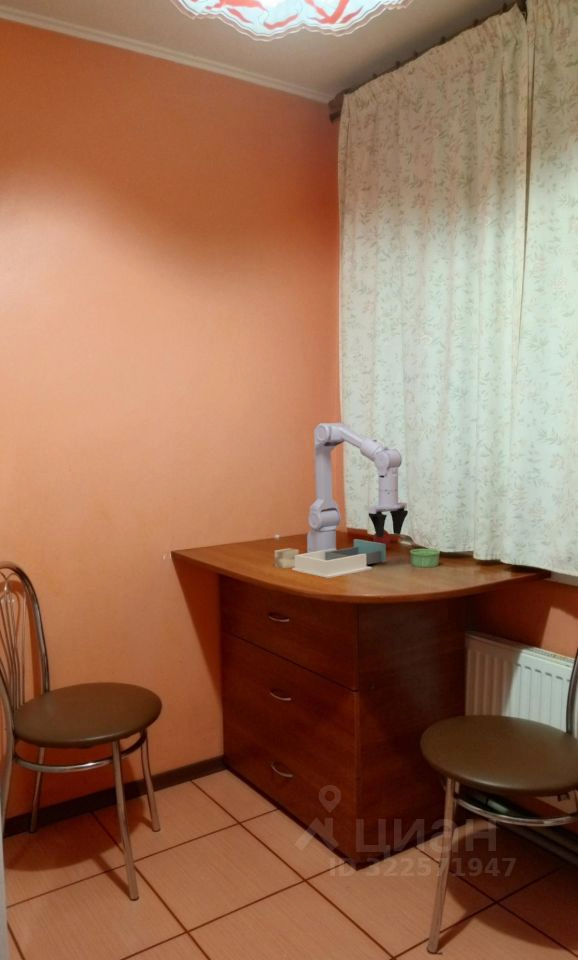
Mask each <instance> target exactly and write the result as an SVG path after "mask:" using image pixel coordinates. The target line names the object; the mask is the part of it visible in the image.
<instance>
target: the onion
mask: <svg viewBox="0 0 578 960" xmlns="http://www.w3.org/2000/svg"><path fill="white" fill-rule="evenodd" d="M372 539H373V542H376V543H382V544H386V548H387V547H388V546H389V545H390V543H391V535H390V533H389V532H388V531H387V530H386V529H384V535H383V537H377V536H376V532H375V533H374V535H373V538H372Z"/></svg>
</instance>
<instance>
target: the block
mask: <svg viewBox="0 0 578 960" xmlns="http://www.w3.org/2000/svg"><path fill="white" fill-rule="evenodd" d="M299 551H300V550H299V549H296V548H289V547H288V548H283V549H277V550H276V549H275V550H274V567H276V568H281V569H288V568H295V555H299V553H300V552H299Z"/></svg>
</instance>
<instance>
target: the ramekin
mask: <svg viewBox="0 0 578 960" xmlns="http://www.w3.org/2000/svg"><path fill="white" fill-rule="evenodd" d="M409 553H410V562H411V565H412V566H413V567H417V568H435V566H436V567H437V566H438V565H439V563H440V562H439V560H440V554H441V551H440V550H438V549H433V548H416V549H414V548H413V549H411V550H410V551H409Z"/></svg>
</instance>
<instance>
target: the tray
mask: <svg viewBox="0 0 578 960" xmlns="http://www.w3.org/2000/svg"><path fill="white" fill-rule="evenodd" d="M386 549H387V547H386V544H382V543H376V542H374V541H368V540H364V539H355V538H354V539H353V546H352V547H348V548H347V547H346V548H342V549H337V550H335V551H330V552H325V560H326V561H327V560H333V559H338V558H343V557H349V556H354V555H359V554H366V565H370V564H375V563H380V562H382V563H386V562H387V561H386V558H387V556H386V555H387V553H386V552H387V551H386Z"/></svg>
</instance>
